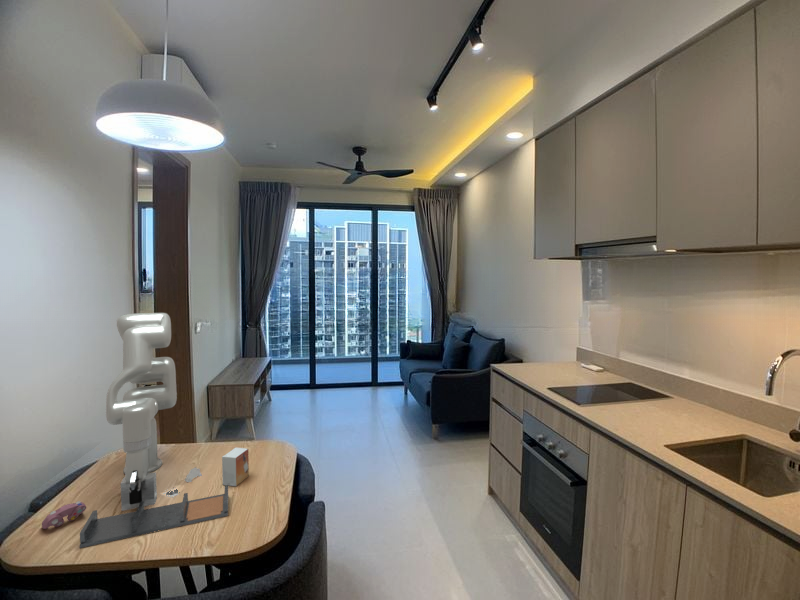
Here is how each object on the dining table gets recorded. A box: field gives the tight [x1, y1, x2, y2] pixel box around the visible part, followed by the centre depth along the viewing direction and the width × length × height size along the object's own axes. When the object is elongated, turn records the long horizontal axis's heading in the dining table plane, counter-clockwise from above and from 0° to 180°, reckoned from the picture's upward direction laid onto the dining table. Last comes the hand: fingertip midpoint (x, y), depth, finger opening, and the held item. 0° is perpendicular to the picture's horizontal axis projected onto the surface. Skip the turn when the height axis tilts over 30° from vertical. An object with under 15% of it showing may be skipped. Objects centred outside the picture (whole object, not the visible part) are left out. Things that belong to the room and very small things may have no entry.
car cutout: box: [163, 466, 203, 498], centre depth 139 cm, size 15×7×4 cm, turn 162°
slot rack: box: [79, 485, 229, 549], centre depth 119 cm, size 12×37×4 cm, turn 113°
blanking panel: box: [120, 471, 158, 512], centre depth 126 cm, size 4×9×9 cm, turn 113°
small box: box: [221, 447, 250, 487], centre depth 141 cm, size 8×6×10 cm
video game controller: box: [41, 500, 87, 530], centre depth 117 cm, size 10×5×7 cm, turn 149°
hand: (139, 495), depth 126 cm, fingers open, 9 cm apart
